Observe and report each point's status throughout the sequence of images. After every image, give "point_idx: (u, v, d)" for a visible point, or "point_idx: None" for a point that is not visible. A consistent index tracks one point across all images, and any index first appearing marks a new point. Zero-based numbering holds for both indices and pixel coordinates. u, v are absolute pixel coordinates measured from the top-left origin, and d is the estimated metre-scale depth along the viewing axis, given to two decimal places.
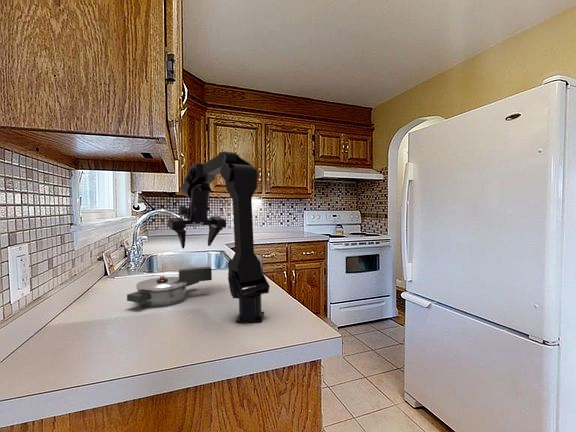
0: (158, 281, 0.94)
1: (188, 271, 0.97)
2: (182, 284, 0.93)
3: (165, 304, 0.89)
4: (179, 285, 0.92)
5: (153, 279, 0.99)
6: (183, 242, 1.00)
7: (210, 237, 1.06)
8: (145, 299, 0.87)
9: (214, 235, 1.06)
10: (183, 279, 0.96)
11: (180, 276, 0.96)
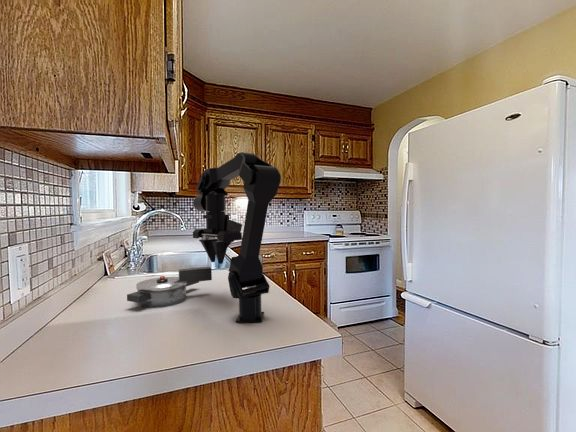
0: (158, 281, 0.94)
1: (188, 271, 0.97)
2: (182, 284, 0.93)
3: (165, 304, 0.89)
4: (179, 285, 0.92)
5: (153, 279, 0.99)
6: (208, 254, 0.93)
7: None
8: (145, 299, 0.87)
9: (215, 249, 0.89)
10: (183, 279, 0.96)
11: (180, 276, 0.96)
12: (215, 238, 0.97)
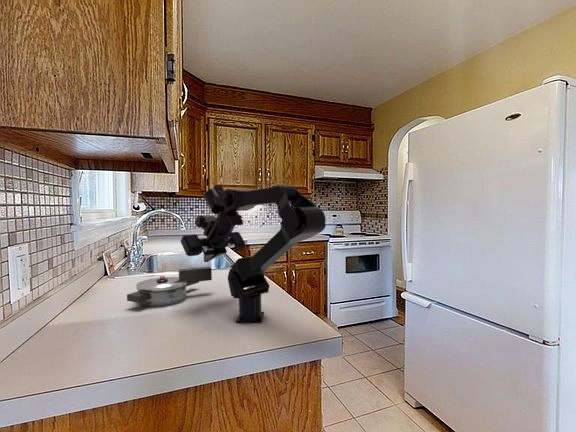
0: (158, 281, 0.94)
1: (188, 271, 0.97)
2: (182, 284, 0.93)
3: (165, 304, 0.89)
4: (179, 285, 0.92)
5: (153, 279, 0.99)
6: (207, 259, 0.91)
7: None
8: (145, 299, 0.87)
9: (215, 256, 0.91)
10: (183, 279, 0.96)
11: (180, 276, 0.96)
12: None
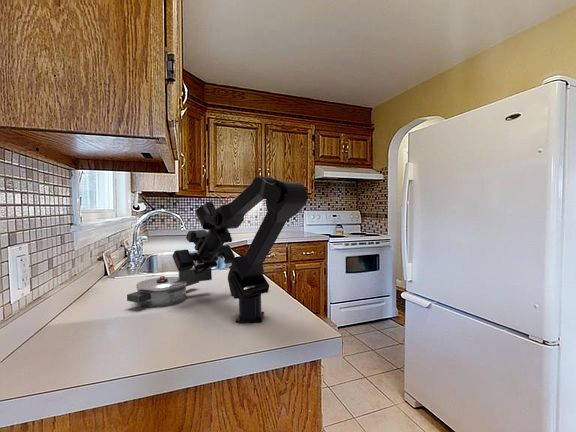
0: (158, 281, 0.94)
1: (188, 271, 0.97)
2: (182, 284, 0.93)
3: (165, 304, 0.89)
4: (179, 285, 0.92)
5: (153, 279, 0.99)
6: (198, 272, 0.95)
7: None
8: (145, 299, 0.87)
9: (206, 269, 0.95)
10: (183, 279, 0.96)
11: (180, 276, 0.96)
12: None
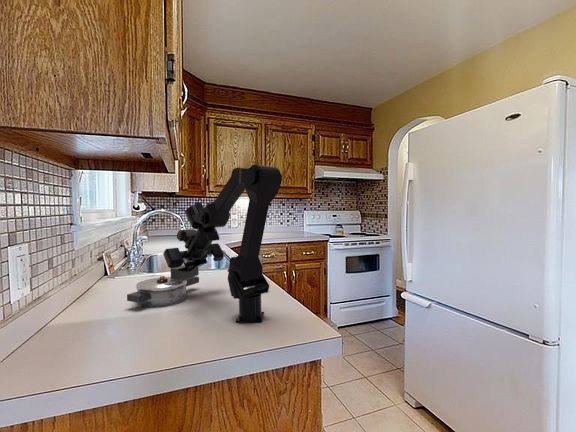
0: (161, 281, 0.94)
1: (183, 269, 1.01)
2: (186, 280, 0.98)
3: (165, 304, 0.89)
4: (186, 281, 0.97)
5: (143, 282, 0.95)
6: (188, 269, 1.00)
7: None
8: (145, 299, 0.87)
9: (197, 266, 1.00)
10: (180, 276, 1.00)
11: (178, 274, 0.99)
12: None
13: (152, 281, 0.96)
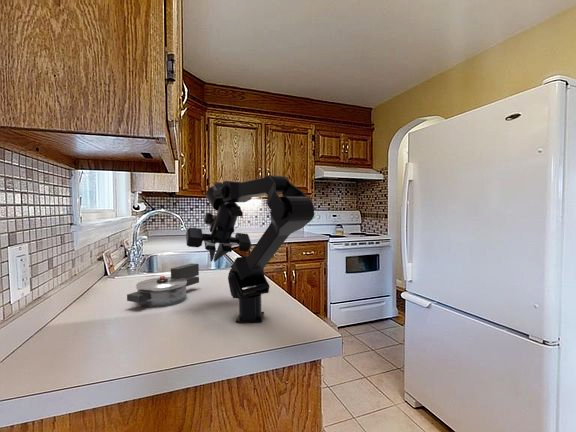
0: (161, 281, 0.94)
1: (183, 269, 1.01)
2: (186, 280, 0.98)
3: (165, 304, 0.89)
4: (186, 281, 0.97)
5: (143, 282, 0.95)
6: (211, 257, 0.92)
7: (217, 254, 0.93)
8: (145, 299, 0.87)
9: (221, 254, 0.91)
10: (180, 276, 1.00)
11: (178, 274, 0.99)
12: None
13: (152, 281, 0.96)
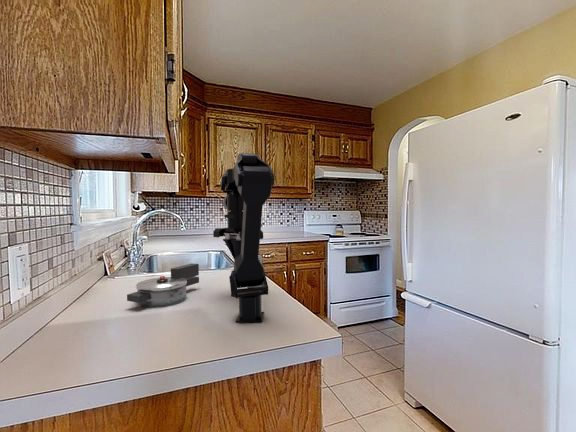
0: (161, 281, 0.94)
1: (183, 269, 1.01)
2: (186, 280, 0.98)
3: (165, 304, 0.89)
4: (186, 281, 0.97)
5: (143, 282, 0.95)
6: (231, 253, 0.94)
7: None
8: (145, 299, 0.87)
9: (234, 248, 0.91)
10: (180, 276, 1.00)
11: (178, 274, 0.99)
12: None
13: (152, 281, 0.96)
